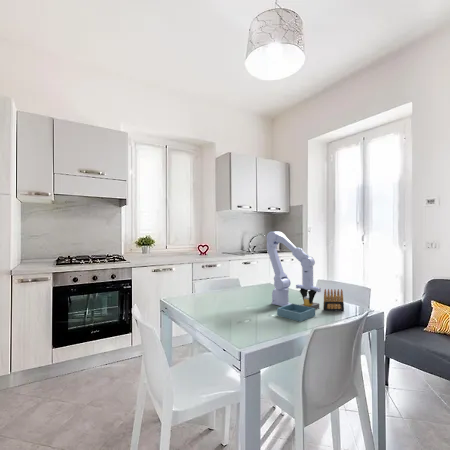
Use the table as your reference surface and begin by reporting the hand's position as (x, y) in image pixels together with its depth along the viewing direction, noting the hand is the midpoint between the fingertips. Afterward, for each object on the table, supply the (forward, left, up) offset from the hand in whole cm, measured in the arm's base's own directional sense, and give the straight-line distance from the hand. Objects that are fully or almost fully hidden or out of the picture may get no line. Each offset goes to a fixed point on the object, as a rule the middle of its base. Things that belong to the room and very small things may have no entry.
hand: (308, 302), depth 163 cm
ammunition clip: (+11, +8, -4) cm, 14 cm away
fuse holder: (0, 0, -4) cm, 4 cm away
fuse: (0, 0, -4) cm, 4 cm away
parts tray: (+2, -15, -4) cm, 16 cm away
